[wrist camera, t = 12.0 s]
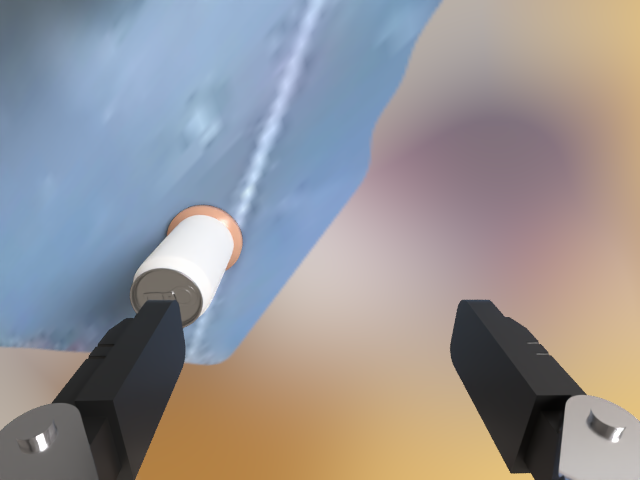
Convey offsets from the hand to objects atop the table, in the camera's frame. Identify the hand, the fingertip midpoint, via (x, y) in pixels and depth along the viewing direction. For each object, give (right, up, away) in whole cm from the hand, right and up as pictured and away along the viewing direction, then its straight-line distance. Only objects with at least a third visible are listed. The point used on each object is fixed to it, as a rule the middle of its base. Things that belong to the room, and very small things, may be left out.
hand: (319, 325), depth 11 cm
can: (-13, +2, +30) cm, 32 cm away
